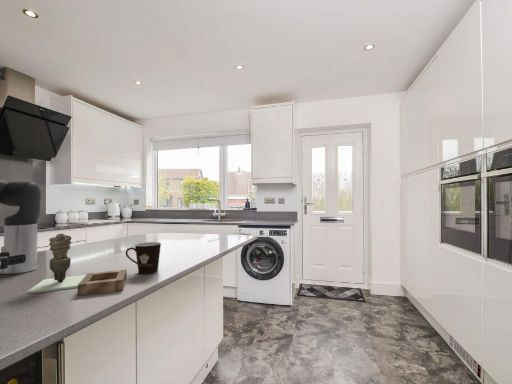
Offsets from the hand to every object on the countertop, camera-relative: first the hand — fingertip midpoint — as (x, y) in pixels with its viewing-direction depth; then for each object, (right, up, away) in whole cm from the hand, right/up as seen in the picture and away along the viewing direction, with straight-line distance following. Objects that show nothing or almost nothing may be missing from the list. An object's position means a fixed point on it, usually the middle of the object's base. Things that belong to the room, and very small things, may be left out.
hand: (16, 256), depth 71 cm
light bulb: (+4, -10, +10) cm, 15 cm away
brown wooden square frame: (+20, -11, +7) cm, 24 cm away
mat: (+5, -11, +10) cm, 15 cm away
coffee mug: (+25, -11, +23) cm, 36 cm away
